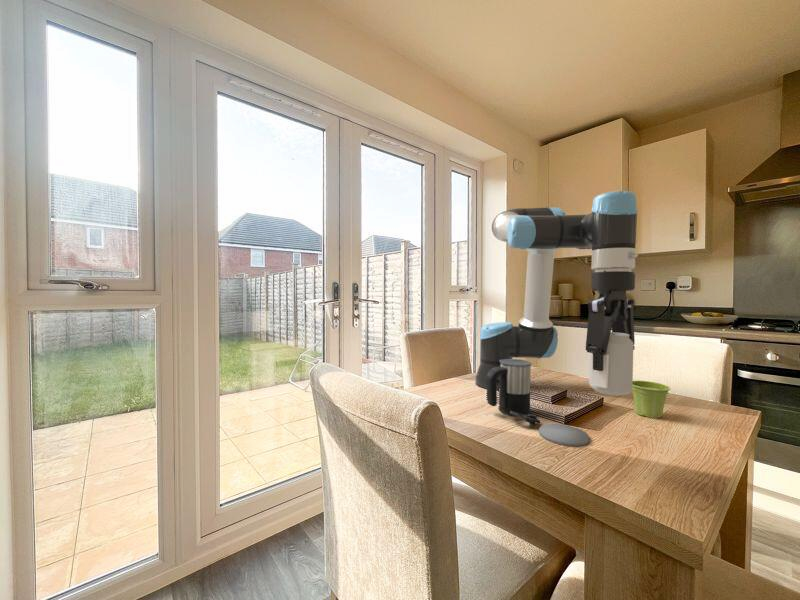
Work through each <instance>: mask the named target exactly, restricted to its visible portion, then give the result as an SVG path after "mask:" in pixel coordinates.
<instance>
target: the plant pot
mask: <svg viewBox="0 0 800 600" xmlns="http://www.w3.org/2000/svg"><path fill="white" fill-rule="evenodd" d="M670 390H671V387H670V386H669V385H666V384H664V383H658V382H655V381H648V380H633V386H632V395H633V402H634V403H633V404H634V411H635V413H636V414H637V415H639V416H644V417H647V418H650V419H661V417H663V412H664V408H665V402H666V399H667V395H668V393H669V391H670Z"/></svg>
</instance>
